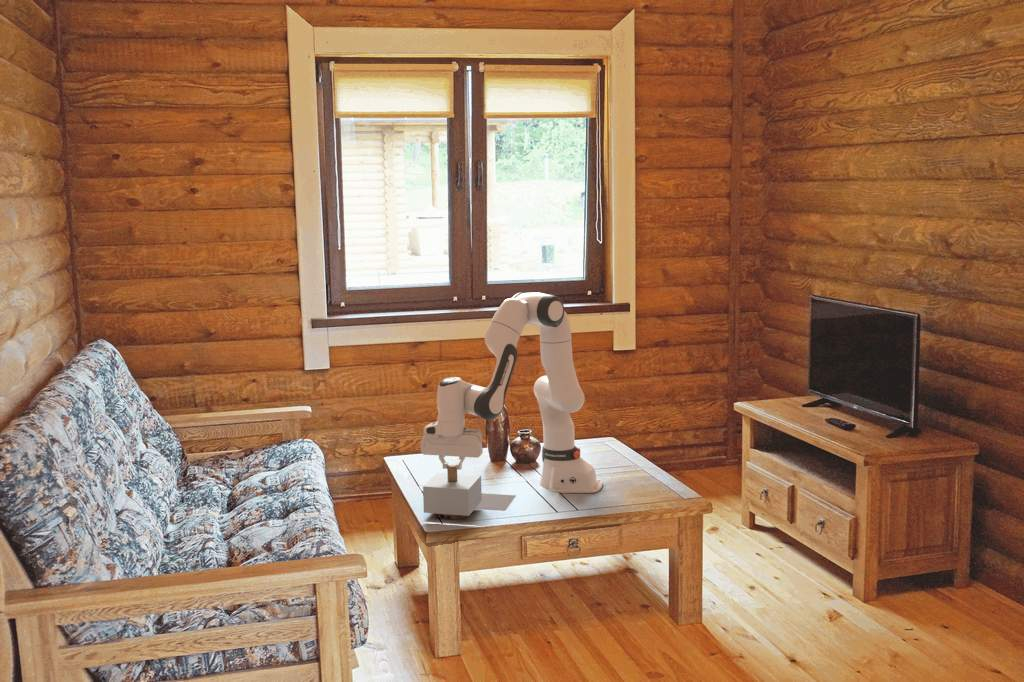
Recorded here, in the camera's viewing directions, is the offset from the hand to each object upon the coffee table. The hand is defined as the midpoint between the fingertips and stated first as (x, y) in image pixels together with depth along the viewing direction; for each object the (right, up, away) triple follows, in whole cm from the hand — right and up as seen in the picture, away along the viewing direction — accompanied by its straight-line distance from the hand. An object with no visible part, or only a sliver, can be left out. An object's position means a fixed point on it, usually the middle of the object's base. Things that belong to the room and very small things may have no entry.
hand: (452, 468), depth 336 cm
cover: (0, -13, +2) cm, 13 cm away
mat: (+10, -13, +14) cm, 22 cm away
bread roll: (0, -16, +2) cm, 16 cm away
